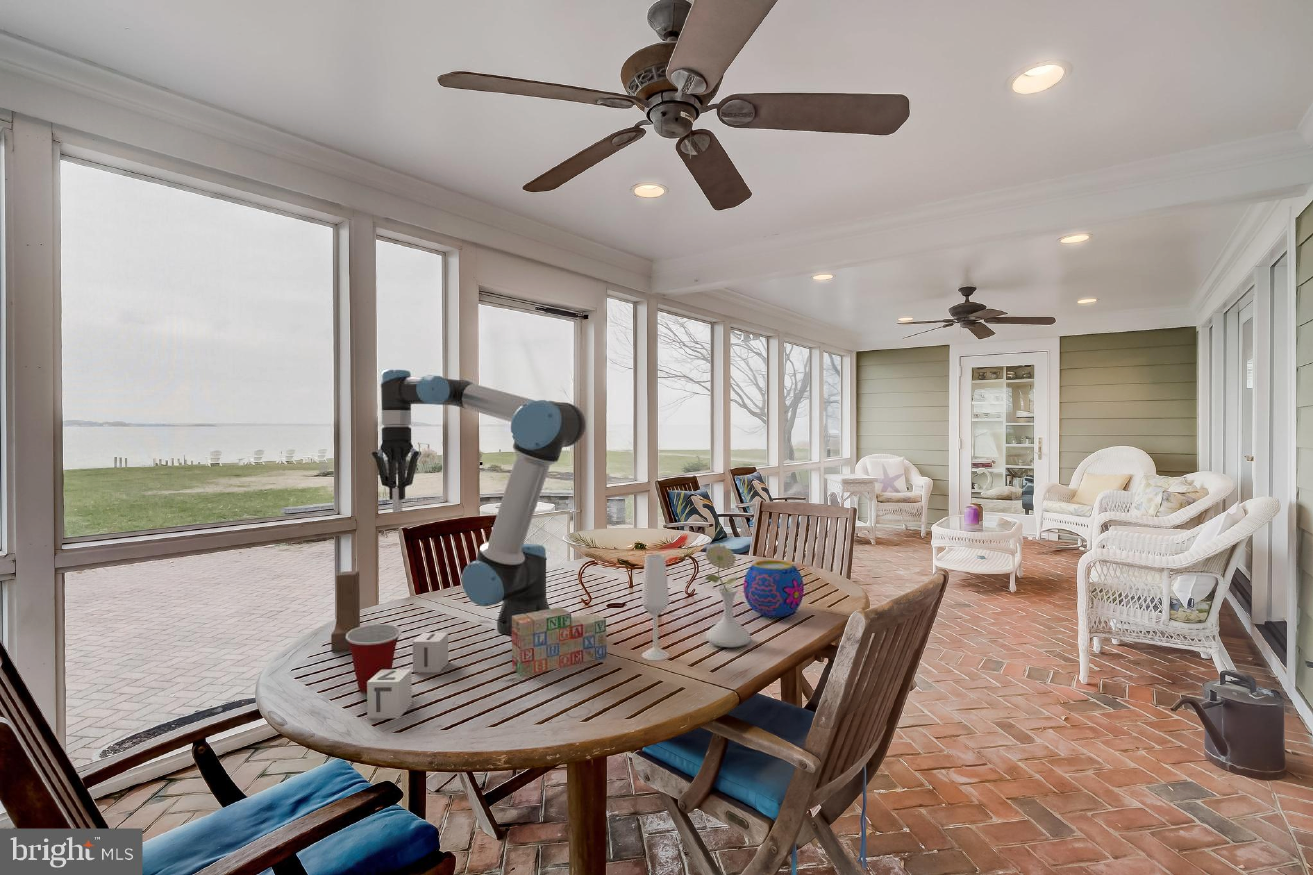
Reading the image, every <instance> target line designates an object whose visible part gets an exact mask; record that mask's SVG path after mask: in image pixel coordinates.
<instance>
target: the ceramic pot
mask: <svg viewBox="0 0 1313 875" xmlns="http://www.w3.org/2000/svg"><path fill="white" fill-rule="evenodd" d="M742 589H743V594H744V598H745V600H746V602H747V604H748V605H749V607H750V608H751V609H752V610H753V611H754V612H756V613H757V614H760V615H762V616H764V617H768V618H781V617H782V618H783V617H787V616H789V615H791V614H793V613H794V612H797V610H798V609H799V607H800V605H801V604H802V601H803V598H804V592H805V584H804V579H803V576H802V573H800V571H799V569H798V567H796V566H795V565H794V564H793V563H791V562H789V561H783V560H777V559H775V560H772V559H771V560H760V561H756V562H754V563H753V564H751V565H750V566H749V567H748V569H747V571H746V573H745V576H744V581H743V587H742Z"/></svg>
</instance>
